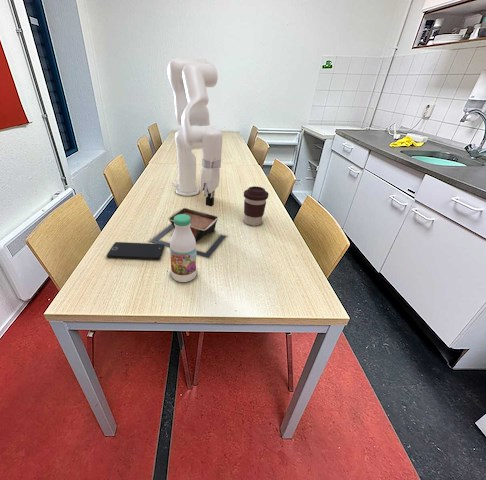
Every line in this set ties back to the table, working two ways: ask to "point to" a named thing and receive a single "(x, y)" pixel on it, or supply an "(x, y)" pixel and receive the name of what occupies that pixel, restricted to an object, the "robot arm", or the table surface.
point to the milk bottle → (183, 250)
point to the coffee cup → (254, 205)
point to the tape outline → (207, 254)
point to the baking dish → (197, 222)
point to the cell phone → (136, 250)
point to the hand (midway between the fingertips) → (209, 205)
